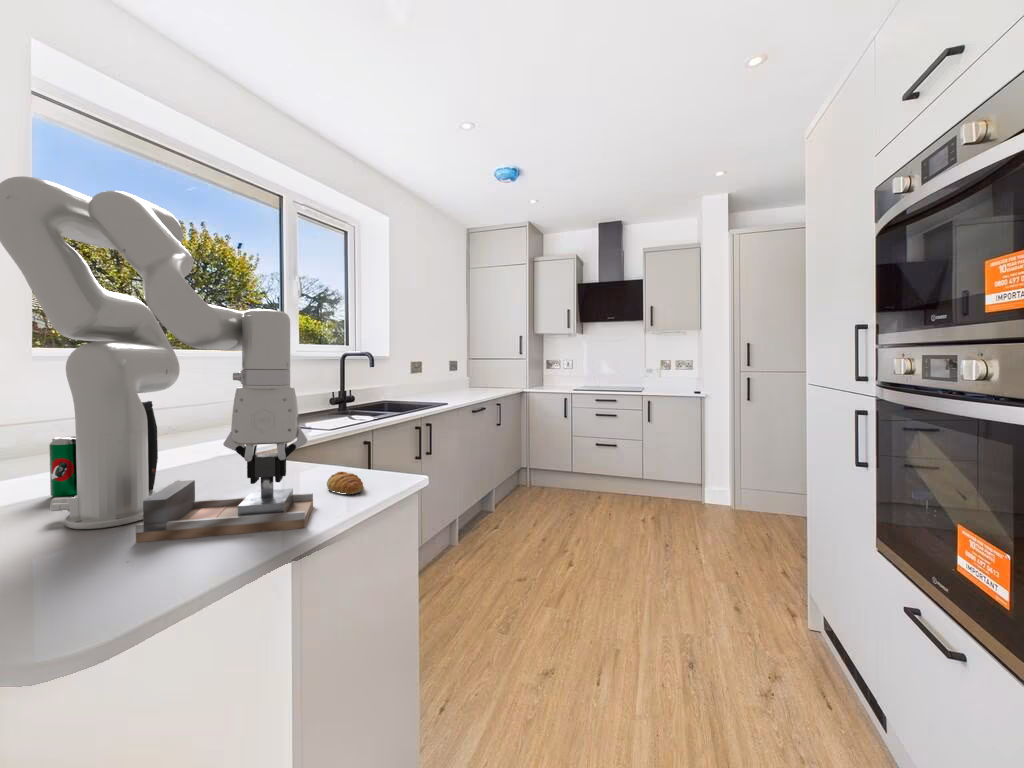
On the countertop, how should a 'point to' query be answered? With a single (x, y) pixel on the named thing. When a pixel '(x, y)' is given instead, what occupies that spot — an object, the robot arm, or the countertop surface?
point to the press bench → (210, 515)
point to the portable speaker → (151, 443)
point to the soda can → (63, 467)
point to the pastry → (345, 483)
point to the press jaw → (266, 490)
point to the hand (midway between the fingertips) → (267, 480)
